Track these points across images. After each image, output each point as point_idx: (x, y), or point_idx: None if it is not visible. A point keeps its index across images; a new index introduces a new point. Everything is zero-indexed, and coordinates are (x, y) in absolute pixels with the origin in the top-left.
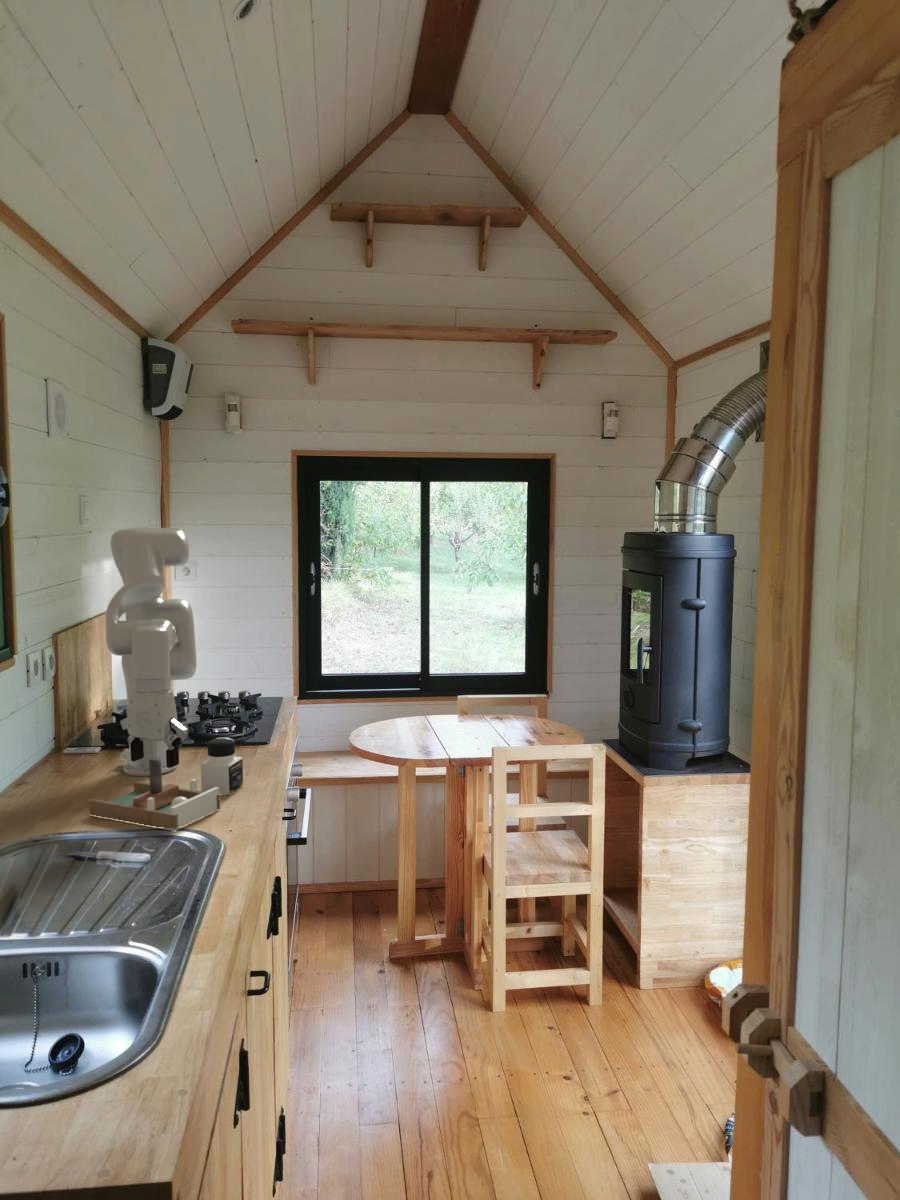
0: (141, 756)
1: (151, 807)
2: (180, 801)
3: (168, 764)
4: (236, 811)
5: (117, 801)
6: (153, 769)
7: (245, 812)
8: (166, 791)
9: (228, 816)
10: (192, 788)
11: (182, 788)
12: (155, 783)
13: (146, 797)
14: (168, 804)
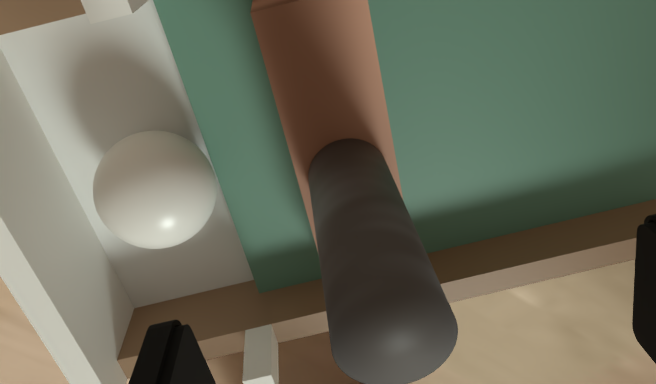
0: (644, 323)
1: None
2: (106, 191)
3: (143, 348)
4: None
5: (621, 40)
6: (344, 247)
7: (8, 369)
8: (310, 222)
9: (9, 303)
10: (255, 341)
11: None
12: (323, 188)
13: (289, 60)
14: None
